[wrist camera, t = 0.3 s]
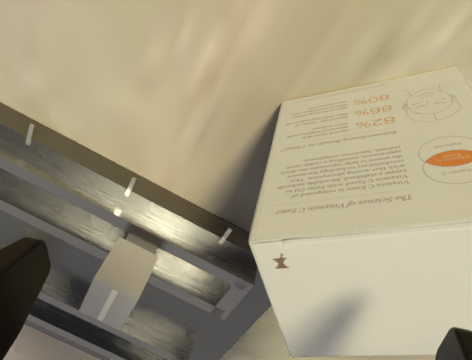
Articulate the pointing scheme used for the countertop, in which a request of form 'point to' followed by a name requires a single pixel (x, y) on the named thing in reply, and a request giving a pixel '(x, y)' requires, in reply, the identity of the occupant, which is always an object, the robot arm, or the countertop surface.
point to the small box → (370, 217)
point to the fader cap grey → (120, 281)
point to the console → (104, 238)
